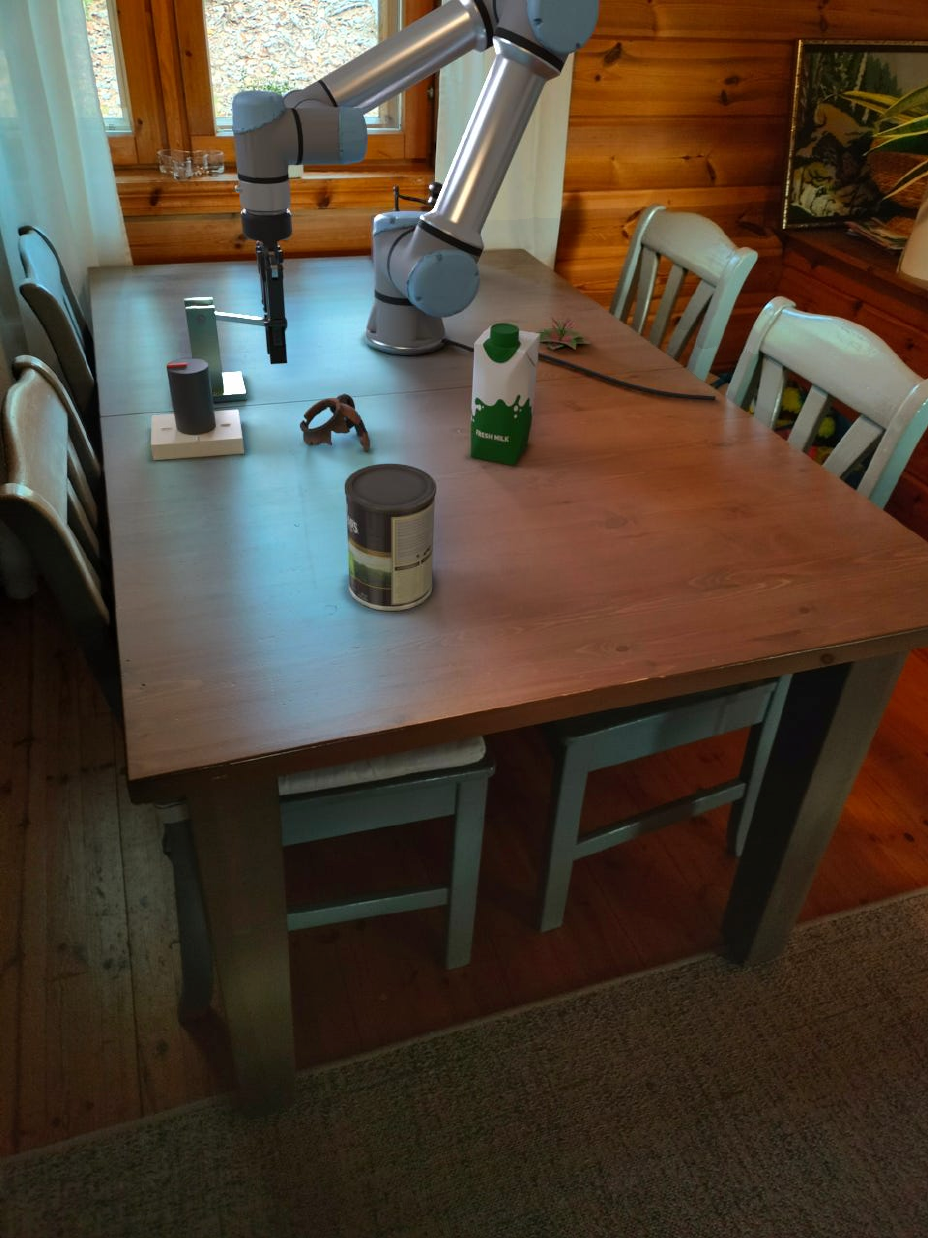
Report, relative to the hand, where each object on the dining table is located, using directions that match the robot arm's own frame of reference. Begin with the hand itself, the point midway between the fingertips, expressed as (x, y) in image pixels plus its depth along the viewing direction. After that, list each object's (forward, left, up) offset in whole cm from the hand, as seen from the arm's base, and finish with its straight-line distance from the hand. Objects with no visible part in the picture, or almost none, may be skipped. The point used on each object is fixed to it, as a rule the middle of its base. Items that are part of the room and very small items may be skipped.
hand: (277, 357), depth 152 cm
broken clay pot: (-17, +16, -5) cm, 24 cm away
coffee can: (-37, +49, -5) cm, 62 cm away
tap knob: (+3, +23, -3) cm, 23 cm away
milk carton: (-41, +10, -5) cm, 43 cm away
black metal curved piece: (+2, -75, -5) cm, 75 cm away
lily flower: (-41, -39, -5) cm, 57 cm away
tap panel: (+3, +23, -5) cm, 24 cm away
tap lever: (+5, +3, +5) cm, 8 cm away
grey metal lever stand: (+10, +6, -5) cm, 12 cm away
